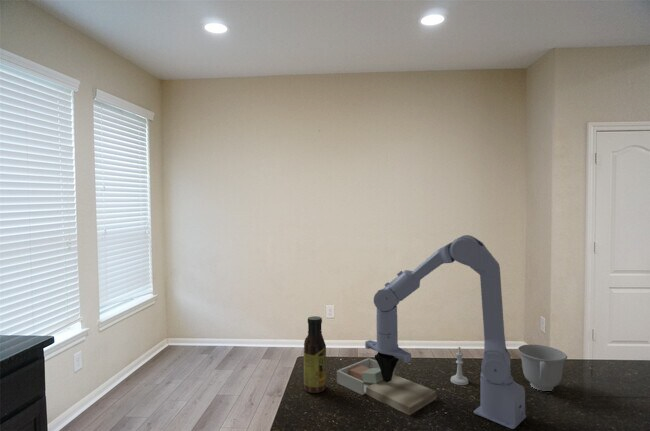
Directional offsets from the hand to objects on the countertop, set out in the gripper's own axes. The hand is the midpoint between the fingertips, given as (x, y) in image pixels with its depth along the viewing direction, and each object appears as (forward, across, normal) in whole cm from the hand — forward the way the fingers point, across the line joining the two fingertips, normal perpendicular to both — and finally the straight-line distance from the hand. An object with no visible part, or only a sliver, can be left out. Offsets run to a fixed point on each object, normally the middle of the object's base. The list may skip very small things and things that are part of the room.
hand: (387, 380), depth 103 cm
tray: (+3, +8, 0) cm, 8 cm away
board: (+3, -5, 0) cm, 5 cm away
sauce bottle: (+3, +14, +14) cm, 20 cm away
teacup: (+3, -28, -32) cm, 43 cm away
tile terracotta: (+2, +10, 0) cm, 10 cm away
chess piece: (+3, -10, -20) cm, 23 cm away
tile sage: (+1, +4, 0) cm, 5 cm away
